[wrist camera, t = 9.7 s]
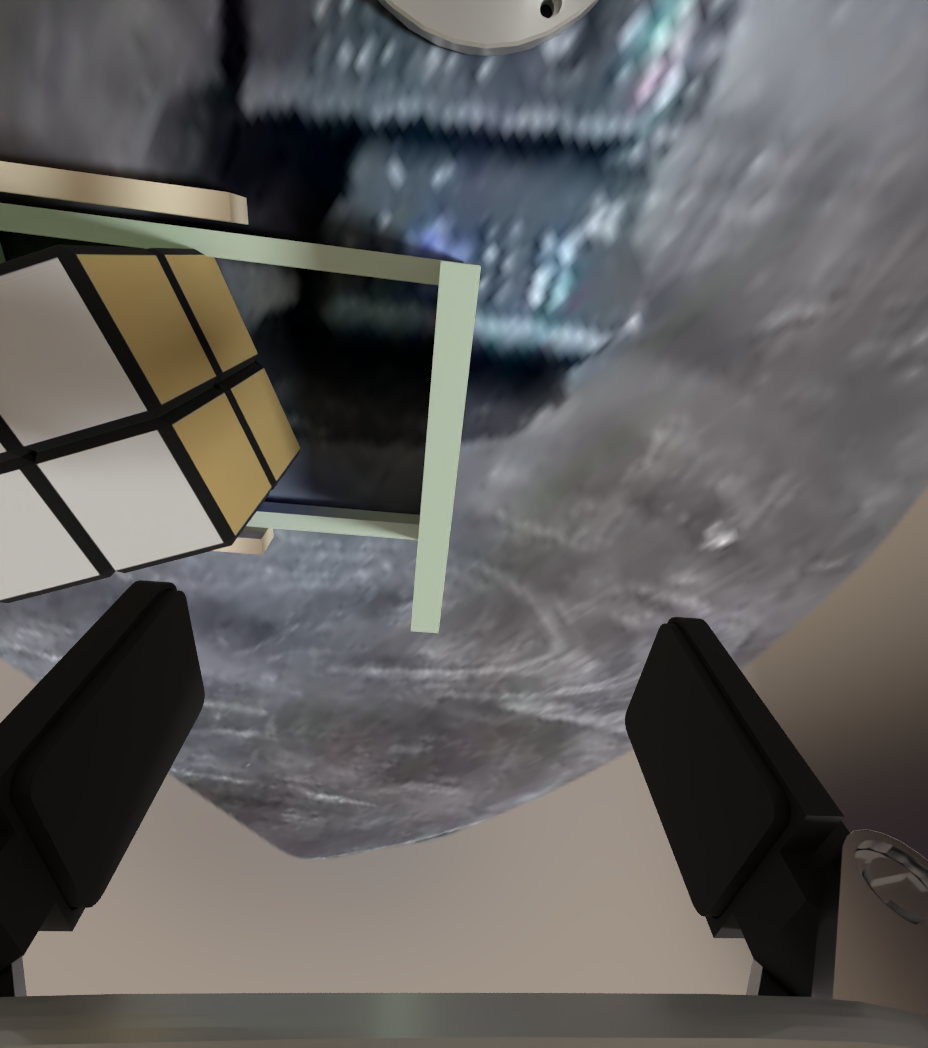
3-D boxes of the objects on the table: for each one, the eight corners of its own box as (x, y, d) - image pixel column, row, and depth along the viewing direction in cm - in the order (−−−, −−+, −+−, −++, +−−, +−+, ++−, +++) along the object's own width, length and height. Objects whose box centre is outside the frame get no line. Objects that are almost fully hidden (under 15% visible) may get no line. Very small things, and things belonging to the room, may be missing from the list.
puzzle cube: (137, 497, 27) (-6, 610, 19) (14, 310, 23) (-256, 343, 14) (305, 451, 27) (237, 547, 18) (213, 246, 22) (58, 239, 13)
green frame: (467, 263, 22) (481, 265, 15) (440, 531, 29) (438, 633, 21) (-32, 198, 21) (-329, 160, 13) (60, 500, 27) (-97, 598, 19)
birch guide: (246, 197, 21) (228, 192, 19) (273, 536, 29) (262, 554, 27) (-358, 115, 19) (-439, 100, 17) (-151, 503, 27) (-192, 520, 25)
